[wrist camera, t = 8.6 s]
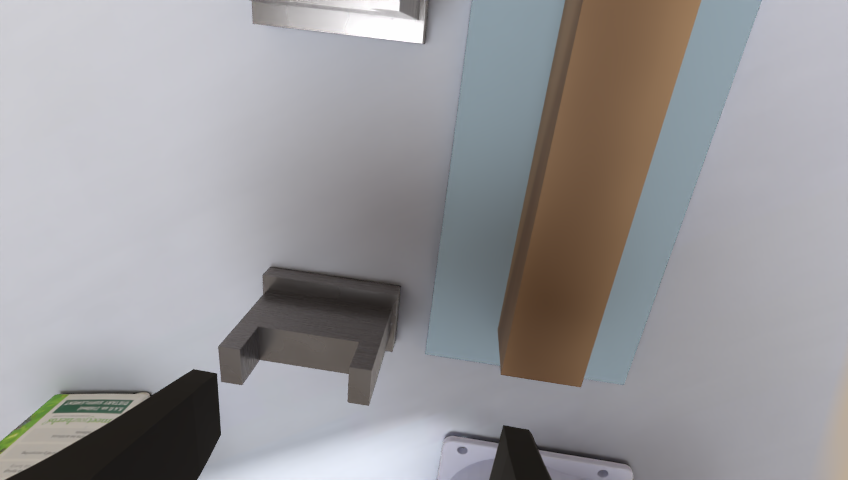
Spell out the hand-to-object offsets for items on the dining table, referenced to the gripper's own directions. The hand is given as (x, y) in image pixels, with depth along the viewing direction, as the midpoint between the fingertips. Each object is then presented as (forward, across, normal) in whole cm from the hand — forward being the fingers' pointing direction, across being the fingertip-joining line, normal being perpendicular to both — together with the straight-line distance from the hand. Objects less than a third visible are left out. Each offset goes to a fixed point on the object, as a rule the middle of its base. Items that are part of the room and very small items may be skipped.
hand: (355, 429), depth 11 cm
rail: (+9, -6, -6) cm, 12 cm away
